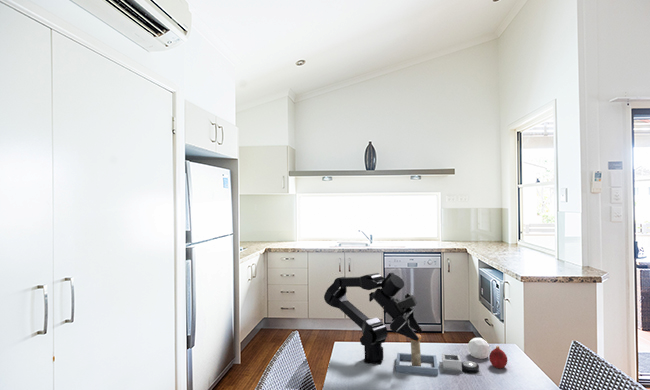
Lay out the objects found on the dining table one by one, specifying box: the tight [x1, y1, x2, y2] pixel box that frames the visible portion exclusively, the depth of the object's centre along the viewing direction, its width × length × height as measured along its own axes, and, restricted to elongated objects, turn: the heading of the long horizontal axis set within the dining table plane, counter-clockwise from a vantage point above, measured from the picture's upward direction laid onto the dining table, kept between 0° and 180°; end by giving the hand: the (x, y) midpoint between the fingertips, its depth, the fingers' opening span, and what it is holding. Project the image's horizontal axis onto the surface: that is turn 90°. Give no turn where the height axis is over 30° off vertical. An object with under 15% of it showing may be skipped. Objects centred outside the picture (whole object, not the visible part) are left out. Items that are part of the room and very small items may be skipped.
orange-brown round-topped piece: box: [408, 333, 422, 367], centre depth 130 cm, size 4×4×11 cm
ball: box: [467, 337, 491, 360], centre depth 139 cm, size 8×8×8 cm
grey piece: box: [438, 353, 482, 376], centre depth 128 cm, size 13×9×4 cm
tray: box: [395, 352, 439, 376], centre depth 130 cm, size 14×12×3 cm
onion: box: [488, 345, 508, 369], centre depth 129 cm, size 6×6×8 cm
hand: (419, 335), depth 130 cm, fingers open, 9 cm apart
